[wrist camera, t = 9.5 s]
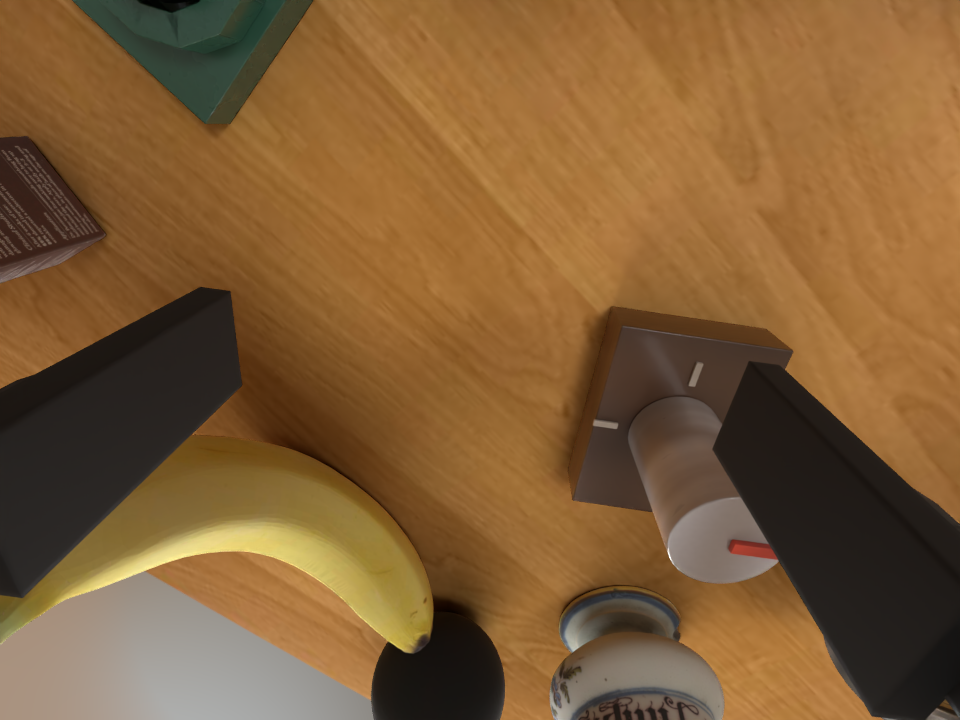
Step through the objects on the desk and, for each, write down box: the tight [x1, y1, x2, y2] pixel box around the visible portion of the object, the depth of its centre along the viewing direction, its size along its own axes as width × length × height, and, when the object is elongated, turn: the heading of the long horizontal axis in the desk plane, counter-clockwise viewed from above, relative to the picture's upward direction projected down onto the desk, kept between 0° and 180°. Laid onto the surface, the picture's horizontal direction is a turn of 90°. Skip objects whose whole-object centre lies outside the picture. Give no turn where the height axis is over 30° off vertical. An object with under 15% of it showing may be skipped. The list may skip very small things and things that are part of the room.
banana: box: [0, 435, 433, 654], centre depth 26 cm, size 23×6×20 cm, turn 44°
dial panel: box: [568, 307, 793, 512], centre depth 29 cm, size 12×9×3 cm
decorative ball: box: [371, 612, 505, 720], centre depth 36 cm, size 10×10×10 cm
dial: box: [628, 397, 779, 583], centre depth 24 cm, size 5×5×8 cm
